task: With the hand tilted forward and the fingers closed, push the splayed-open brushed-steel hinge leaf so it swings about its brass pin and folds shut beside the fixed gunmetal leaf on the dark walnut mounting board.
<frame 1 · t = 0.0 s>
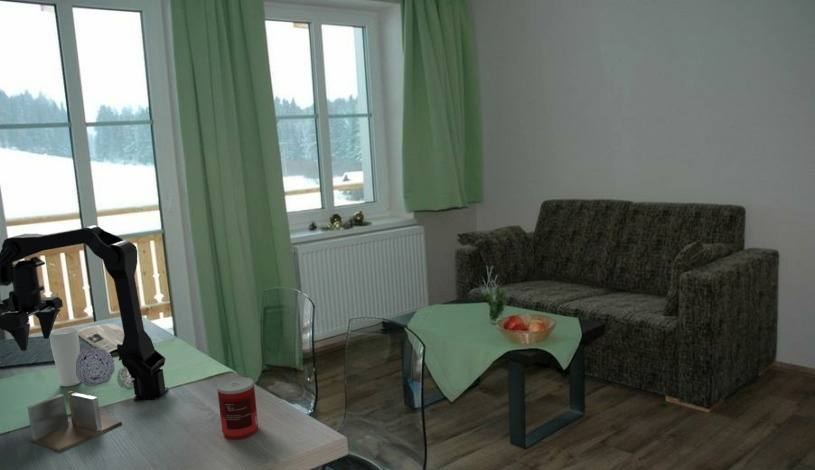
hand: (35, 344, 164), 15 cm above the table, tool pointing down, fingers open, 9 cm apart
swinging leaf: (86, 411, 145), point 5 cm above the table, hinge at 95.0°
newspaper: (112, 342, 212), on the table
white tapered cylinder: (71, 384, 176), on the table
canned food: (240, 432, 141), on the table
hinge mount: (75, 427, 148), on the table
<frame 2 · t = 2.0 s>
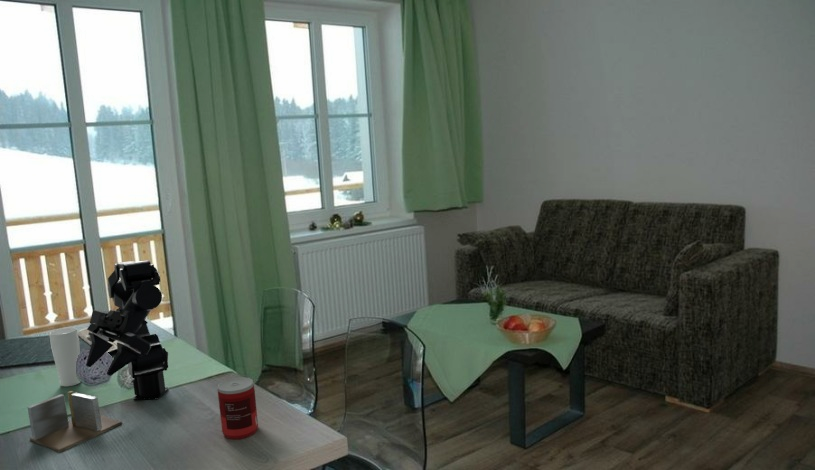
hand: (98, 370, 149), 12 cm above the table, tool tilted 45°, fingers open, 9 cm apart
nothing on the table moved.
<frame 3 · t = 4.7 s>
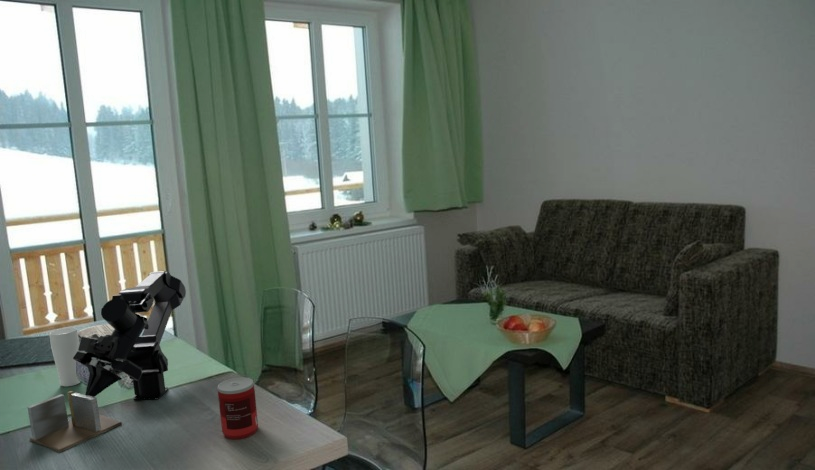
hand: (86, 399, 145), 7 cm above the table, tool tilted 45°, fingers closed, pressing on swinging leaf
swinging leaf: (85, 411, 145), point 5 cm above the table, hinge at 93.5°, touching gripper
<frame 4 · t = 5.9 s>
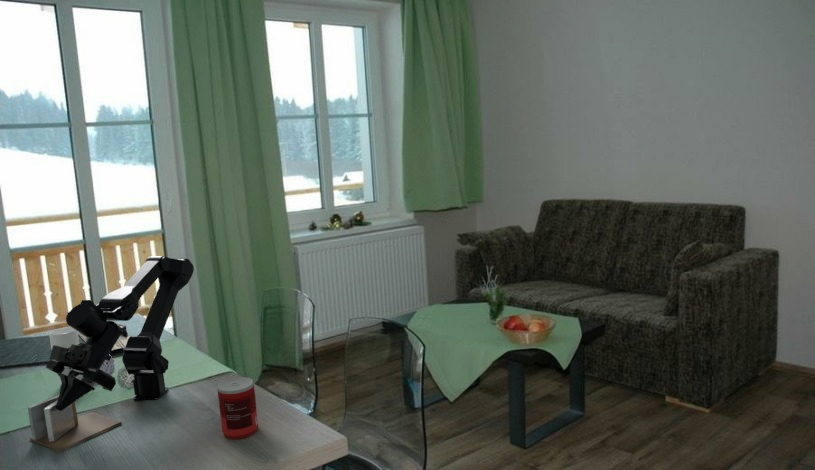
hand: (58, 410, 140), 7 cm above the table, tool tilted 45°, fingers closed
swinging leaf: (59, 417, 143), point 5 cm above the table, hinge at 27.3°
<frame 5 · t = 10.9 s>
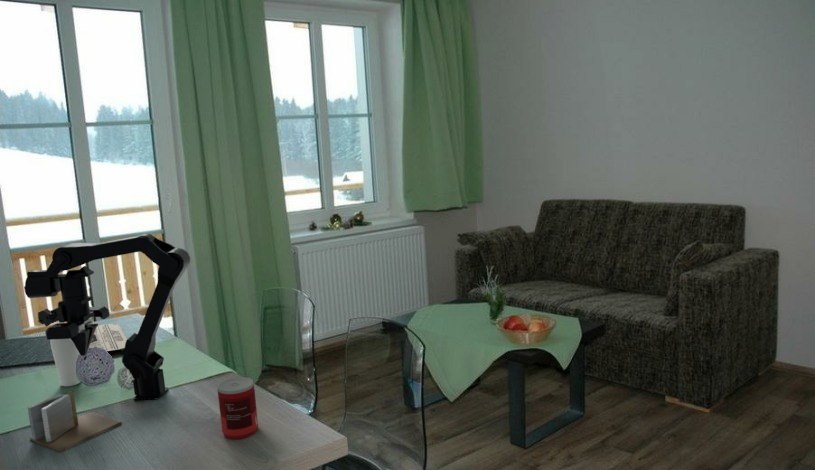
hand: (83, 355, 161), 12 cm above the table, tool pointing down, fingers closed
swinging leaf: (58, 417, 143), point 5 cm above the table, hinge at 22.6°
at the end: swinging leaf at +23° (first picture: +95°); the gripper is holding nothing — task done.
